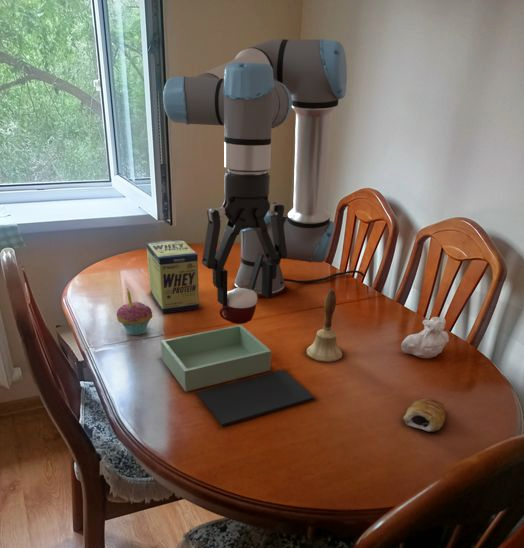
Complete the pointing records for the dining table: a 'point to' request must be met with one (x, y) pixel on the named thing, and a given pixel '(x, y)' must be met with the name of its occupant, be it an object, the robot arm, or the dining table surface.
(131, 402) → the dining table surface
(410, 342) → the white animal figurine
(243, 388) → the mat
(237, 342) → the tote
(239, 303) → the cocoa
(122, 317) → the cupcake
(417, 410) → the pastry
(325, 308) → the hand bell
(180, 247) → the protein box
